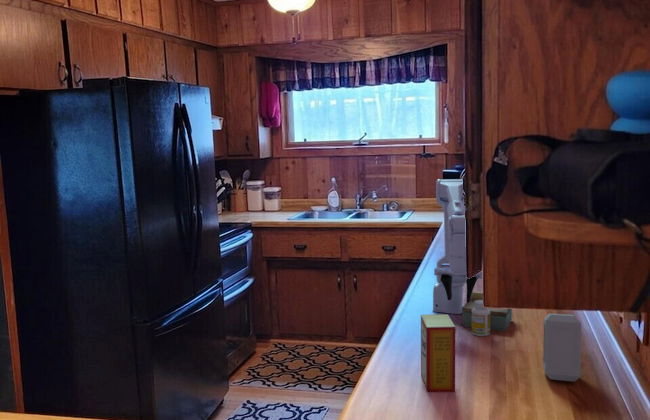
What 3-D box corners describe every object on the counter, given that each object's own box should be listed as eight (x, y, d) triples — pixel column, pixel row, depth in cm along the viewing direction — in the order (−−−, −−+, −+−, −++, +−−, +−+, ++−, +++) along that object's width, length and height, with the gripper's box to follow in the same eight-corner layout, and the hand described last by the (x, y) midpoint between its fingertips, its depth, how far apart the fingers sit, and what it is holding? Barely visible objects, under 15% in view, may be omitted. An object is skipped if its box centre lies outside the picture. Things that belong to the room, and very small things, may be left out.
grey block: (538, 309, 168) (545, 314, 140) (568, 310, 166) (581, 316, 137) (538, 363, 167) (545, 379, 138) (567, 365, 164) (580, 382, 136)
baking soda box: (421, 375, 146) (420, 313, 144) (447, 375, 146) (447, 312, 144) (426, 392, 136) (426, 325, 134) (455, 391, 136) (455, 325, 134)
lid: (462, 311, 181) (462, 299, 180) (470, 301, 191) (470, 290, 190) (506, 315, 175) (506, 304, 175) (512, 305, 185) (512, 294, 185)
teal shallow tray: (462, 325, 181) (462, 311, 181) (470, 315, 191) (470, 302, 191) (505, 331, 176) (506, 316, 175) (511, 320, 186) (511, 306, 185)
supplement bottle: (483, 329, 178) (483, 298, 177) (493, 335, 173) (494, 303, 172) (467, 331, 176) (468, 300, 175) (478, 337, 171) (478, 305, 170)
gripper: (431, 256, 172) (431, 301, 174) (481, 260, 166) (481, 306, 168) (437, 251, 179) (437, 295, 180) (486, 255, 172) (485, 299, 174)
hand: (459, 300), depth 175 cm, fingers open, 5 cm apart
